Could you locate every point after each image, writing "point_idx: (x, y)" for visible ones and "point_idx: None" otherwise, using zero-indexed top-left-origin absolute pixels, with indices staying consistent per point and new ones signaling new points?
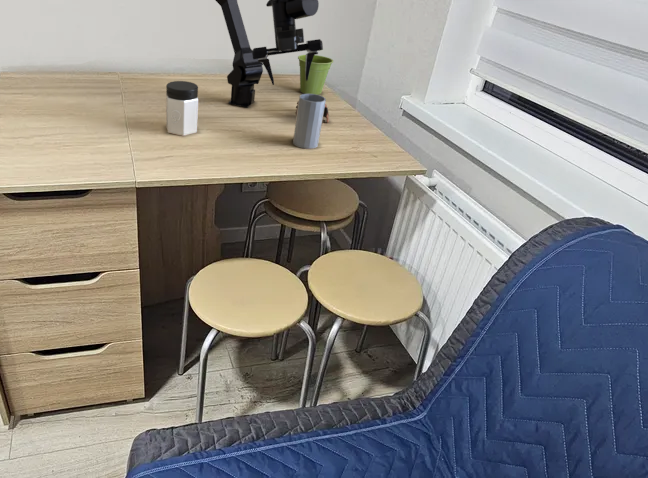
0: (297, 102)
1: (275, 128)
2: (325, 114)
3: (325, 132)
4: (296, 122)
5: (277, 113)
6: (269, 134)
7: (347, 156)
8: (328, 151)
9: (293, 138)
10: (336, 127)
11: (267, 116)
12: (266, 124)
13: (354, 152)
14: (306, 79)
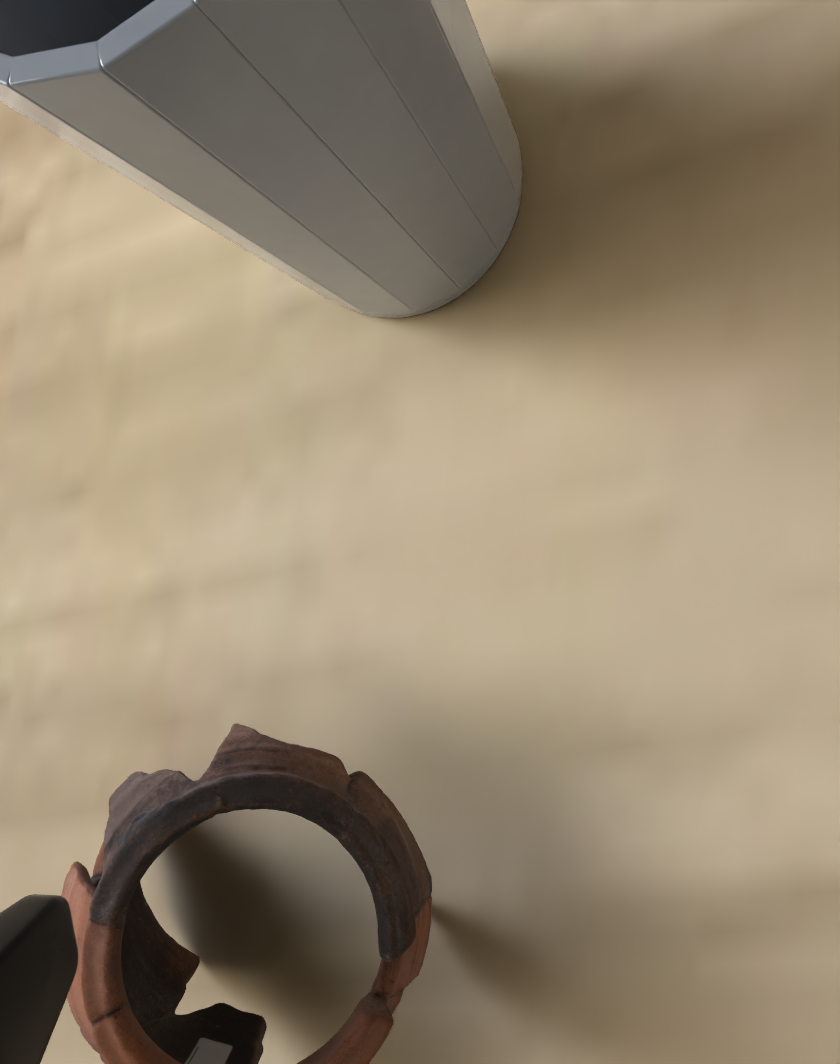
0: (382, 1034)
1: (691, 555)
2: (131, 909)
3: (191, 544)
4: (466, 6)
5: (634, 1043)
6: (779, 350)
7: None
8: None
9: (515, 166)
10: (88, 690)
11: (769, 937)
12: (799, 666)
13: (19, 135)
14: (42, 900)
